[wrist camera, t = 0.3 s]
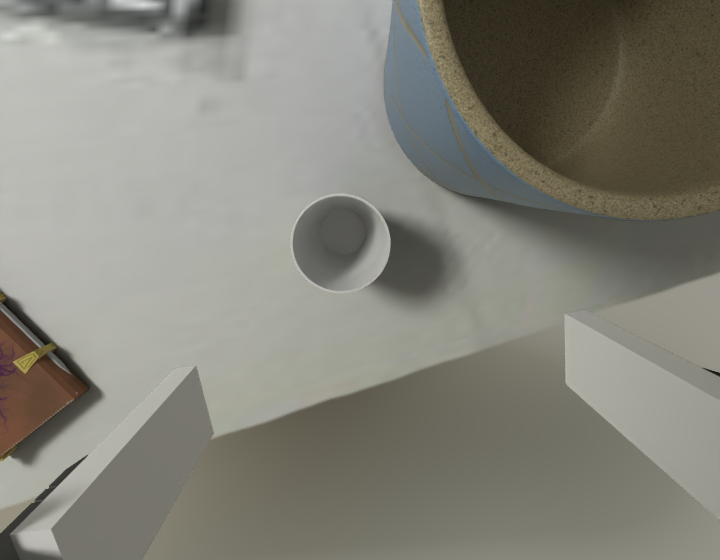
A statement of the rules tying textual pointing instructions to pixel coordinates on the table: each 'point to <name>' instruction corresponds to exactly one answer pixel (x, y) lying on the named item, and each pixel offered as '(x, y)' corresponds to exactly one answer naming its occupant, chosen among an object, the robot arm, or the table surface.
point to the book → (29, 382)
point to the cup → (340, 243)
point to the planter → (562, 102)
